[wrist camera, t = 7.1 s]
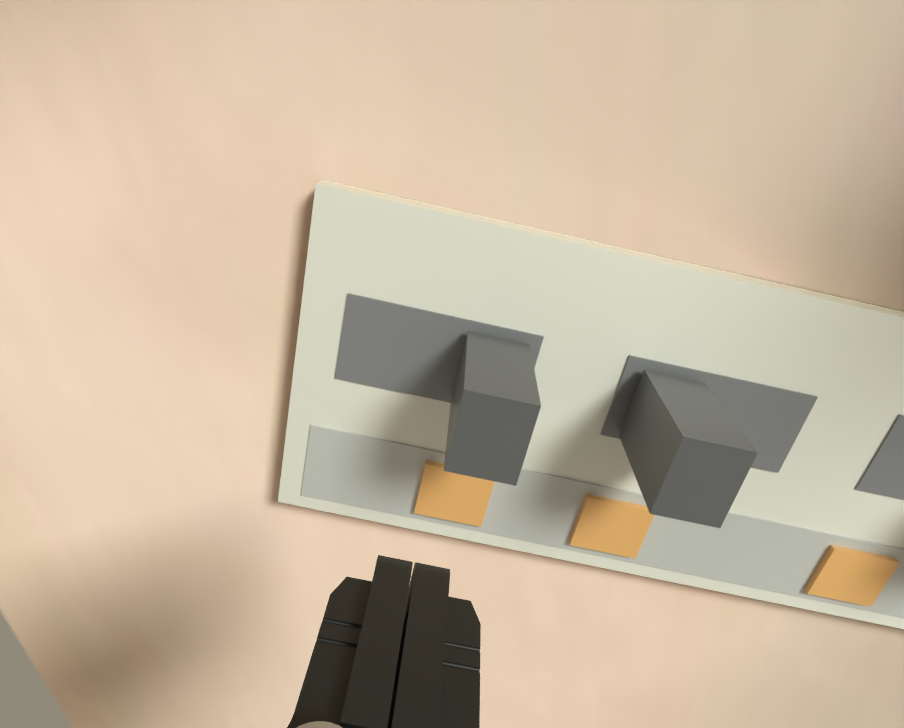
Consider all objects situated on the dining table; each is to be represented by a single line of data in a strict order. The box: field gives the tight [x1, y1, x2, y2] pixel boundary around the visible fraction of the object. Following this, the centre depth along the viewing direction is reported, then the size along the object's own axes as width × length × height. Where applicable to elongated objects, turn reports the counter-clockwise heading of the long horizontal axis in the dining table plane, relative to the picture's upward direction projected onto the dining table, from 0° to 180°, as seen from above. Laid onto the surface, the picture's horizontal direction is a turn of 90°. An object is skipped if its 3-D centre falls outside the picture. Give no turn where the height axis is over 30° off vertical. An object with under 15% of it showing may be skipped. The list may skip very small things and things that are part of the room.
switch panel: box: [278, 180, 904, 629], centre depth 25 cm, size 14×33×2 cm, turn 78°
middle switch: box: [619, 369, 758, 528], centre depth 22 cm, size 3×2×5 cm
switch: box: [444, 331, 541, 486], centre depth 21 cm, size 3×2×5 cm
